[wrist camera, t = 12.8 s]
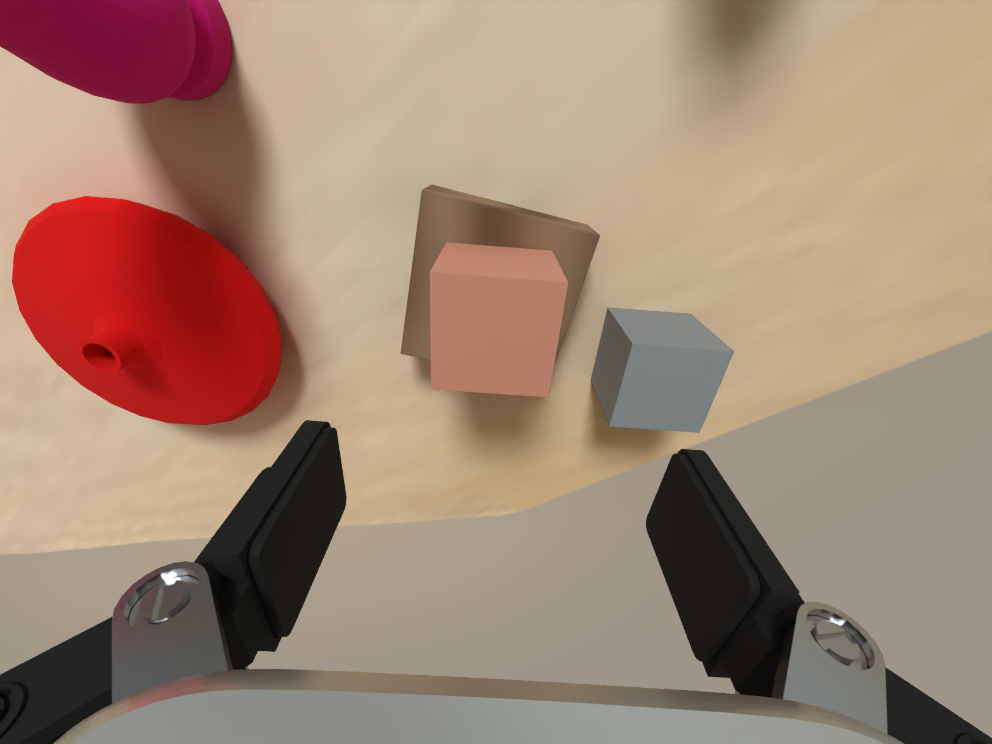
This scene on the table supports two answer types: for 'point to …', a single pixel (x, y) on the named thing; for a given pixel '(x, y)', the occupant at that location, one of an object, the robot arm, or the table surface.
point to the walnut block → (487, 225)
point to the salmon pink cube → (495, 319)
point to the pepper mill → (122, 45)
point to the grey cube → (657, 370)
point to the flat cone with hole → (147, 310)
